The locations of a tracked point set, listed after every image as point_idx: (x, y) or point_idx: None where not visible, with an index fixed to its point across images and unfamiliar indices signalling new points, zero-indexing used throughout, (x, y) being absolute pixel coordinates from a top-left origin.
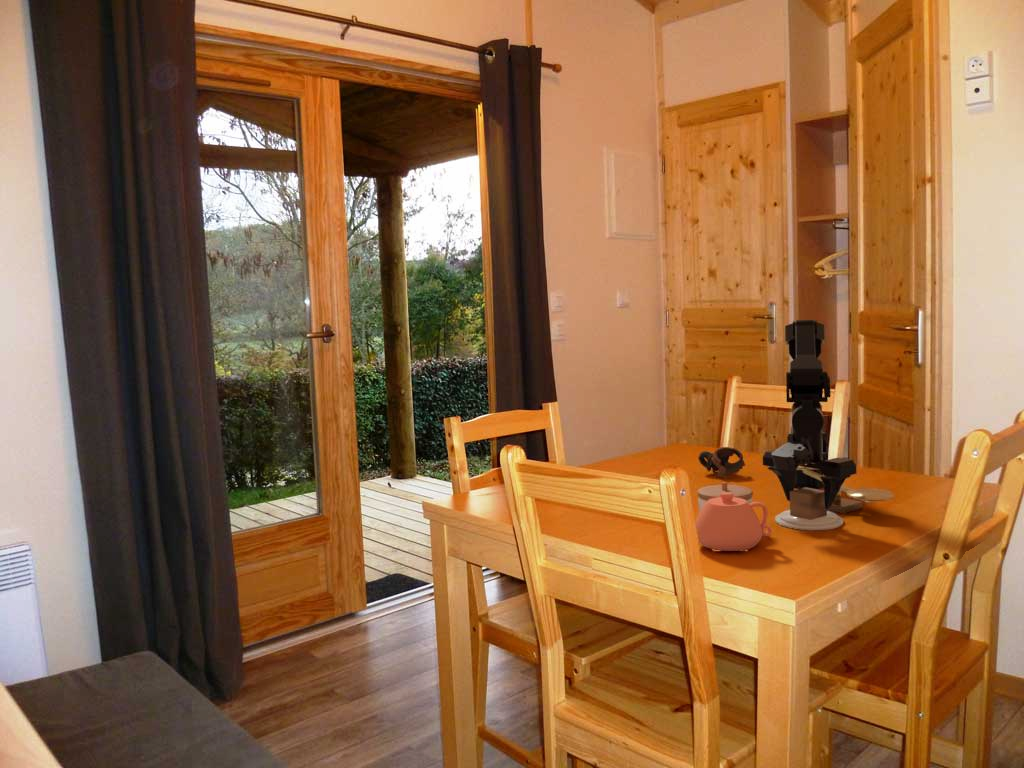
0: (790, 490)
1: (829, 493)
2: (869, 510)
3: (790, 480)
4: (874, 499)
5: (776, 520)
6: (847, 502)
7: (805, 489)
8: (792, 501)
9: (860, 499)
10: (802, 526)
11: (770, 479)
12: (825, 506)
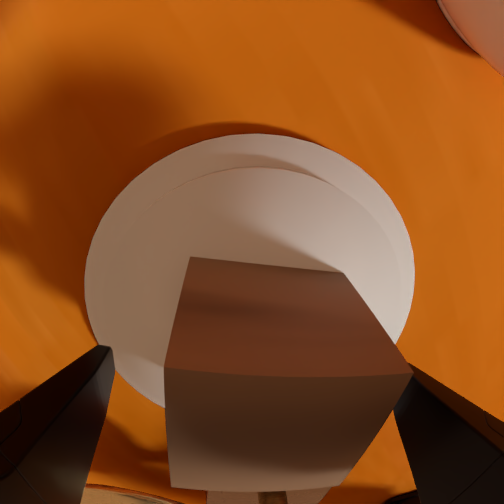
0: (418, 420)
1: (14, 406)
2: (180, 488)
3: (444, 474)
4: None
5: (382, 189)
6: (233, 495)
7: (317, 464)
8: (357, 320)
9: (110, 487)
10: (191, 157)
11: None
12: (103, 352)
